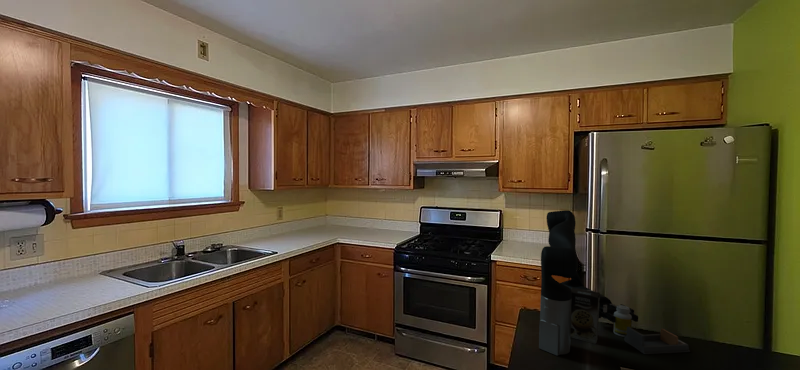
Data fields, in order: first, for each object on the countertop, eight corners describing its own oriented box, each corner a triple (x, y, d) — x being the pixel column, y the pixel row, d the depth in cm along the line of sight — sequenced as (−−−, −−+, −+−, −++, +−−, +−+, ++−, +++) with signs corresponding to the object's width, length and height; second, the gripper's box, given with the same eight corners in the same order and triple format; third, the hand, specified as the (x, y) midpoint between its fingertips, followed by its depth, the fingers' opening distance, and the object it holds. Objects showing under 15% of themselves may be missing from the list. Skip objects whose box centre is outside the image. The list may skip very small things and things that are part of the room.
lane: (644, 354, 111) (645, 337, 111) (623, 340, 120) (624, 325, 120) (690, 351, 113) (691, 335, 113) (666, 338, 122) (667, 323, 122)
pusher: (675, 348, 114) (675, 336, 114) (660, 339, 120) (660, 328, 120) (677, 348, 114) (678, 336, 114) (662, 339, 120) (662, 328, 120)
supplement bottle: (633, 338, 122) (635, 310, 121) (616, 336, 123) (617, 309, 122) (627, 331, 127) (628, 304, 127) (610, 330, 128) (611, 303, 128)
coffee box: (566, 337, 122) (568, 291, 122) (570, 330, 128) (571, 286, 127) (596, 344, 117) (598, 297, 116) (598, 337, 122) (600, 291, 122)
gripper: (579, 293, 138) (607, 309, 122) (612, 292, 140) (645, 308, 123) (578, 312, 138) (606, 330, 122) (611, 310, 140) (644, 329, 124)
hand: (626, 319), depth 123 cm, fingers open, 8 cm apart
